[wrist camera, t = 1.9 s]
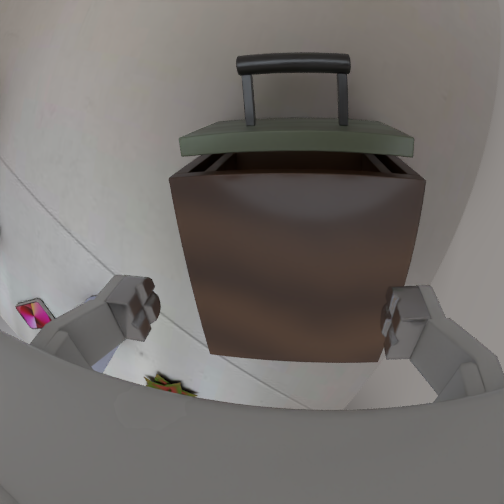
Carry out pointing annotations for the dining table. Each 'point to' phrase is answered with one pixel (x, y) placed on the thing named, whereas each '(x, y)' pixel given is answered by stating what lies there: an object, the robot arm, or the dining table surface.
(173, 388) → the lily flower
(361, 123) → the drawer
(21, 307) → the smartphone
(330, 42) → the dining table surface
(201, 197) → the cabinet
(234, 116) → the dining table surface
